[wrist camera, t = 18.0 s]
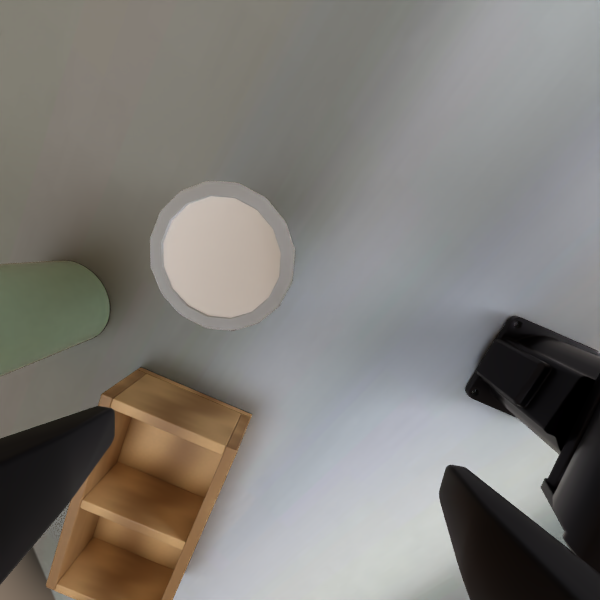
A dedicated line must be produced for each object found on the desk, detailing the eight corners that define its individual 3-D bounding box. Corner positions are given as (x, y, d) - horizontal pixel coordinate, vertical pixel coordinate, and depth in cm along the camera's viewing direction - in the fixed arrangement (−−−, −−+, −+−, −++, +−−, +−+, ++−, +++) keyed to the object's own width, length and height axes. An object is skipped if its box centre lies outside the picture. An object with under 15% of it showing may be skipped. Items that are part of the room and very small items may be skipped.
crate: (252, 414, 22) (237, 451, 18) (182, 574, 26) (157, 633, 22) (140, 366, 22) (101, 393, 18) (87, 534, 26) (44, 587, 22)
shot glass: (239, 318, 20) (198, 355, 14) (189, 234, 19) (118, 229, 13) (321, 274, 19) (322, 290, 12) (273, 183, 18) (245, 147, 12)
